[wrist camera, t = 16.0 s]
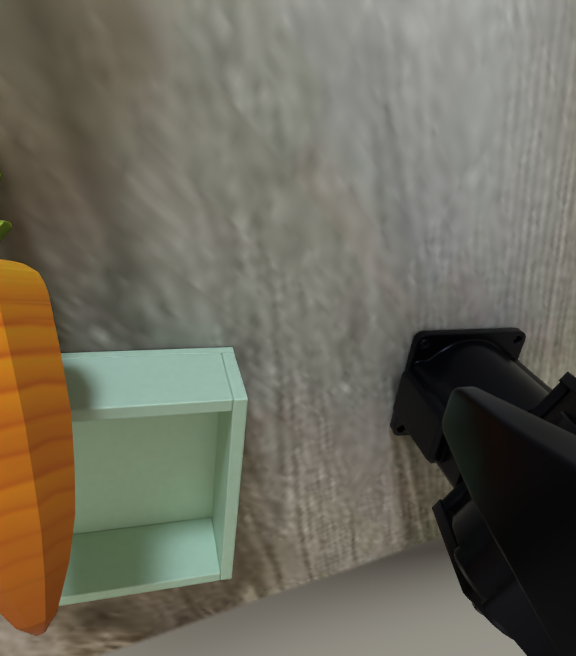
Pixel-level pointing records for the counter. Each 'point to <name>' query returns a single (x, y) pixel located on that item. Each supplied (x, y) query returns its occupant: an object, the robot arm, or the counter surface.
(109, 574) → the mint green tray
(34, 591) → the carrot
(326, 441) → the counter surface
